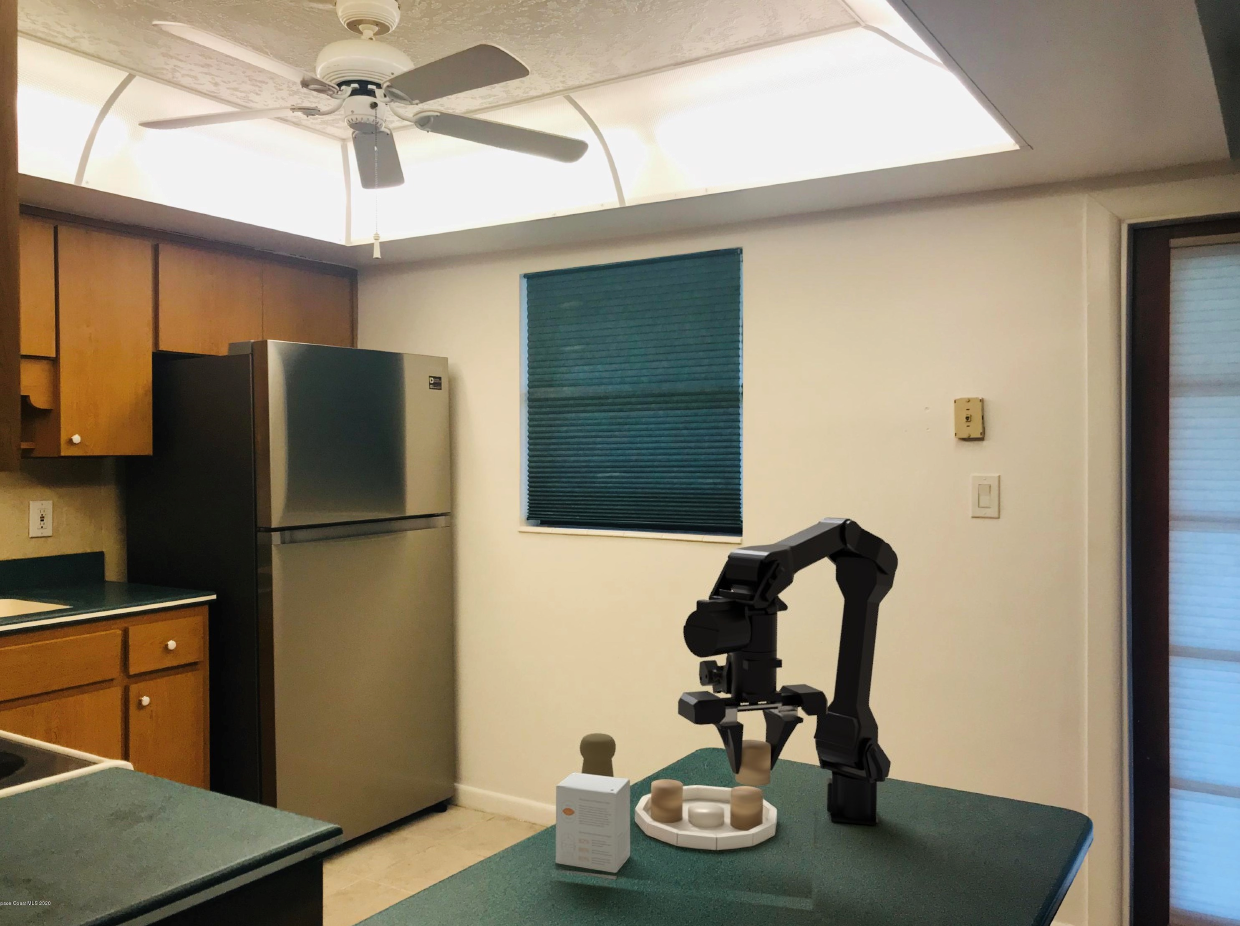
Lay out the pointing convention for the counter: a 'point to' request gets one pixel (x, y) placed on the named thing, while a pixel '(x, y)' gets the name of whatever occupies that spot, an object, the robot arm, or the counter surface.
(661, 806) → the bead
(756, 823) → the tan rounded piece
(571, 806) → the small box
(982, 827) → the counter surface
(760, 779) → the bead
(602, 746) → the cork
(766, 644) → the robot arm
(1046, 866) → the counter surface
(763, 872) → the counter surface
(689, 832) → the tray
